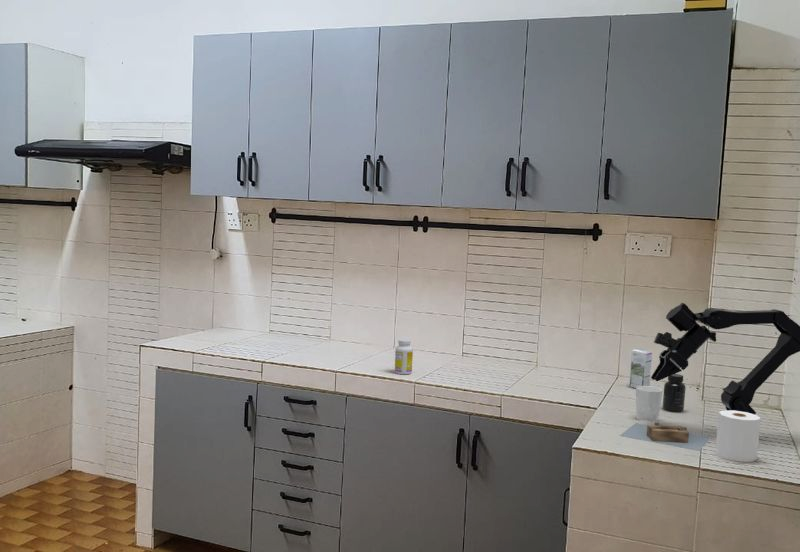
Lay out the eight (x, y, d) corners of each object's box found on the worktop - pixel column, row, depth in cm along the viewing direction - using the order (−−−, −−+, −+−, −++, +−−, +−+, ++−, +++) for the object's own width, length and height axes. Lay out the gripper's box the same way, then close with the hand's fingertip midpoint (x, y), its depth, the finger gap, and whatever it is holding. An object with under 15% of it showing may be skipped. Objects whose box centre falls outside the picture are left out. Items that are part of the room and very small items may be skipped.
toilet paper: (708, 452, 218) (712, 409, 217) (745, 453, 219) (748, 410, 218) (725, 464, 208) (729, 419, 207) (763, 465, 209) (767, 420, 208)
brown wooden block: (680, 436, 230) (681, 426, 229) (688, 442, 224) (688, 432, 223) (646, 435, 230) (647, 424, 230) (652, 441, 224) (653, 430, 224)
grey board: (711, 438, 232) (711, 429, 232) (699, 453, 217) (700, 443, 216) (635, 425, 243) (636, 416, 243) (619, 438, 228) (620, 428, 228)
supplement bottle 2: (657, 408, 267) (660, 373, 266) (673, 407, 270) (676, 372, 269) (672, 413, 261) (675, 377, 260) (688, 412, 264) (691, 376, 263)
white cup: (639, 414, 257) (642, 384, 256) (663, 419, 252) (666, 389, 251) (630, 419, 251) (632, 388, 250) (654, 424, 246) (656, 392, 245)
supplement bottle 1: (411, 371, 308) (413, 339, 307) (412, 375, 301) (413, 342, 300) (394, 371, 308) (395, 338, 307) (394, 374, 301) (396, 341, 300)
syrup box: (650, 388, 298) (653, 350, 297) (643, 390, 294) (645, 352, 292) (636, 385, 302) (638, 348, 301) (628, 387, 298) (631, 349, 296)
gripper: (665, 324, 246) (630, 360, 247) (674, 322, 228) (636, 361, 229) (693, 349, 244) (657, 385, 245) (704, 349, 226) (665, 388, 227)
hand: (653, 379), depth 236 cm, fingers open, 9 cm apart
